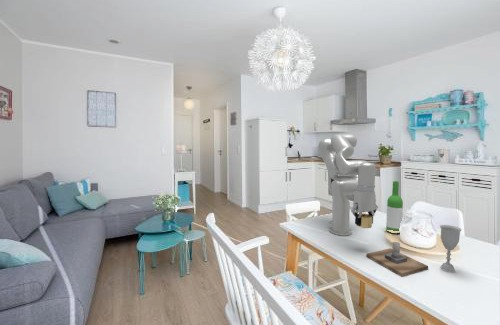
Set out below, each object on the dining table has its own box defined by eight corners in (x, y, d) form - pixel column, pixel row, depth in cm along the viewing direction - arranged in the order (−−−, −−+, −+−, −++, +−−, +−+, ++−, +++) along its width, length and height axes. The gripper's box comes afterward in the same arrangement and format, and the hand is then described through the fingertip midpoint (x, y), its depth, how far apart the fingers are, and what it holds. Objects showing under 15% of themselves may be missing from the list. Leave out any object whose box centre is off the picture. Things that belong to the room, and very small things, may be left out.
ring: (353, 224, 122) (353, 214, 121) (363, 222, 124) (364, 212, 123) (363, 229, 115) (364, 218, 115) (374, 227, 118) (375, 217, 117)
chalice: (449, 275, 98) (452, 231, 96) (433, 266, 104) (435, 226, 103) (463, 272, 100) (466, 229, 98) (445, 264, 106) (448, 224, 105)
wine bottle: (398, 235, 137) (400, 183, 134) (383, 232, 143) (385, 181, 140) (403, 232, 142) (406, 181, 139) (389, 228, 148) (391, 179, 145)
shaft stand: (366, 256, 114) (366, 238, 113) (390, 251, 119) (391, 233, 118) (401, 276, 97) (402, 255, 97) (427, 269, 103) (429, 248, 102)
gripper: (373, 185, 124) (371, 219, 126) (345, 188, 118) (344, 223, 120) (386, 188, 117) (383, 224, 119) (357, 191, 111) (355, 229, 113)
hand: (363, 223), depth 120 cm, fingers closed on ring, 6 cm apart
